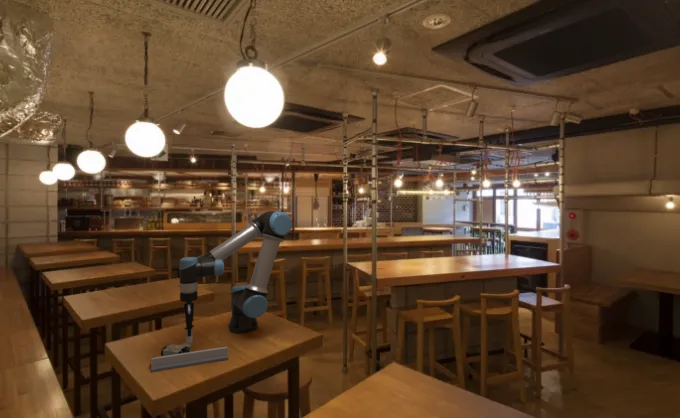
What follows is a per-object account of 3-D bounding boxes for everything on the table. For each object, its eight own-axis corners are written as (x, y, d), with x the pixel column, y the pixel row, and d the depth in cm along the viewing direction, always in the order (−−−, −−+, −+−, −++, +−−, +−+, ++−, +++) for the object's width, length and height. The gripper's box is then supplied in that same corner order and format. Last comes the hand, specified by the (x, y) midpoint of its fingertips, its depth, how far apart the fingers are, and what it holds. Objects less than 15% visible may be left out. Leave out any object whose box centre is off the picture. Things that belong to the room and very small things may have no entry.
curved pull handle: (225, 351, 174) (225, 342, 174) (228, 359, 165) (228, 350, 165) (152, 362, 162) (152, 353, 162) (150, 372, 154) (150, 362, 153)
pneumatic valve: (198, 353, 172) (180, 364, 161) (176, 350, 175) (157, 361, 164) (198, 341, 172) (180, 351, 160) (176, 338, 175) (157, 348, 164)
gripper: (179, 288, 179) (180, 338, 180) (179, 295, 167) (180, 348, 168) (197, 287, 182) (197, 336, 183) (198, 294, 170) (198, 346, 171)
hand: (189, 342), depth 176 cm, fingers closed
